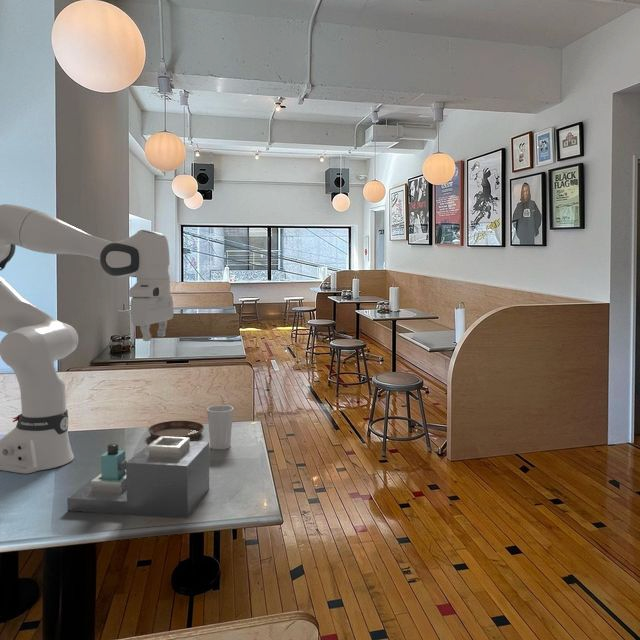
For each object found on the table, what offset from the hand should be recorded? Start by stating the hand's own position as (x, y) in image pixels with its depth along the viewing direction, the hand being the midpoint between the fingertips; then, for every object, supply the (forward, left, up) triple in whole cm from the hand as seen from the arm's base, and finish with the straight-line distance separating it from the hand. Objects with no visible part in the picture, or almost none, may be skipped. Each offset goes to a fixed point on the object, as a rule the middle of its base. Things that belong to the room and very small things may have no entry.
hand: (154, 338), depth 149 cm
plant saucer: (-2, +22, -36) cm, 42 cm away
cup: (+15, +14, -36) cm, 41 cm away
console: (+7, -25, -35) cm, 44 cm away
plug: (0, -25, -32) cm, 41 cm away
